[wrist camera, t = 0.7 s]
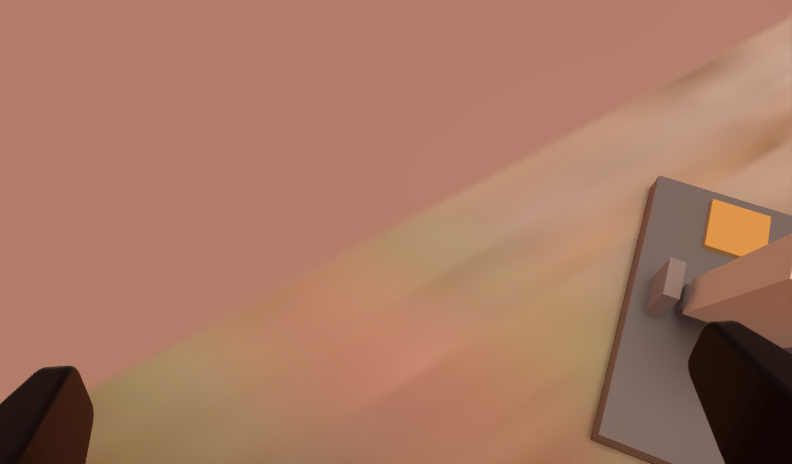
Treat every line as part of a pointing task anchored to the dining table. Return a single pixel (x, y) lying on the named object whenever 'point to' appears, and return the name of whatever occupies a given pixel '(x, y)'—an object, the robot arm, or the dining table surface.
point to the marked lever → (748, 292)
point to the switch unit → (672, 321)
